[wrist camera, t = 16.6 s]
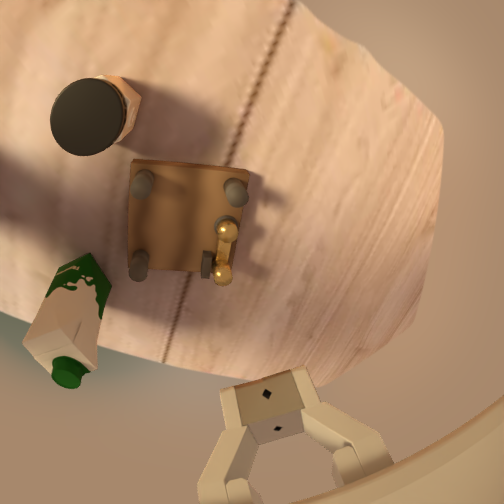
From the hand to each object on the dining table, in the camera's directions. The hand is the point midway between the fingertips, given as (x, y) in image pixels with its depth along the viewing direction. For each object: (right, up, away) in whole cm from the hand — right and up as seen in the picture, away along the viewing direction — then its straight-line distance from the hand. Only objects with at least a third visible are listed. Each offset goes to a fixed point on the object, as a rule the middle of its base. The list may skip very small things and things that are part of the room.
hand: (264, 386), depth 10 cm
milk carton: (-28, +1, +37) cm, 47 cm away
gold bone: (-5, +6, +36) cm, 37 cm away
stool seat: (-10, +10, +36) cm, 38 cm away
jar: (-19, +24, +26) cm, 40 cm away
